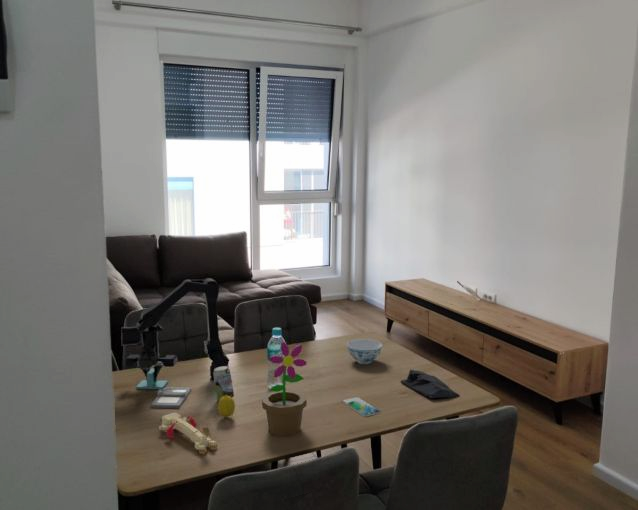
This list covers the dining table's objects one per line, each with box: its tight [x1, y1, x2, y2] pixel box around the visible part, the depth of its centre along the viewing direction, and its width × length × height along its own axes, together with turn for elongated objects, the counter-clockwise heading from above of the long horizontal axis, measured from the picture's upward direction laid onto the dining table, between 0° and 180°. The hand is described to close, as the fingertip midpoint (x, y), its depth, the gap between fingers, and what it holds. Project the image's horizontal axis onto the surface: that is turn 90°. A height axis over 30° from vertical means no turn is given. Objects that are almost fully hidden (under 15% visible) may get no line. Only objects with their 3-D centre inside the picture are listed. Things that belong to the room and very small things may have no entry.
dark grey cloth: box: [400, 369, 460, 399], centre depth 217 cm, size 15×22×5 cm
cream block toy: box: [158, 411, 218, 455], centre depth 176 cm, size 10×9×25 cm
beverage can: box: [213, 366, 235, 401], centre depth 205 cm, size 6×7×12 cm
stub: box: [135, 367, 169, 390], centre depth 218 cm, size 10×7×6 cm
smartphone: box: [341, 396, 382, 418], centre depth 200 cm, size 7×1×15 cm
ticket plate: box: [150, 386, 192, 409], centre depth 207 cm, size 10×16×2 cm, turn 178°
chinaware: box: [346, 338, 383, 365], centre depth 246 cm, size 15×15×8 cm
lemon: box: [217, 395, 236, 419], centre depth 191 cm, size 6×6×8 cm
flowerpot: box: [261, 342, 308, 437], centre depth 181 cm, size 14×14×30 cm
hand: (152, 382), depth 219 cm, fingers closed on stub, 2 cm apart
